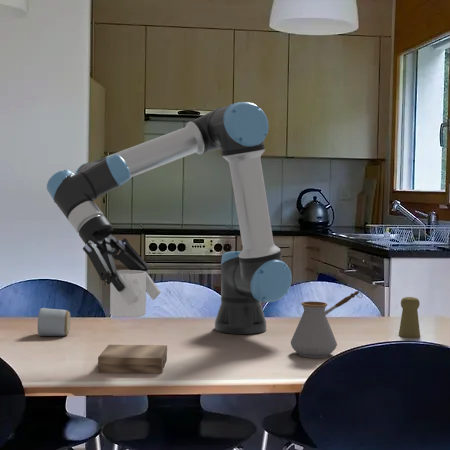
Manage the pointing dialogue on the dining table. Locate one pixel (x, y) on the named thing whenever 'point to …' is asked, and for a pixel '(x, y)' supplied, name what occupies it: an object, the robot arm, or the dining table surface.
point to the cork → (409, 318)
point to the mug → (138, 285)
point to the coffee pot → (316, 330)
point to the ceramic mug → (53, 322)
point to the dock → (133, 359)
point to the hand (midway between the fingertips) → (145, 298)
